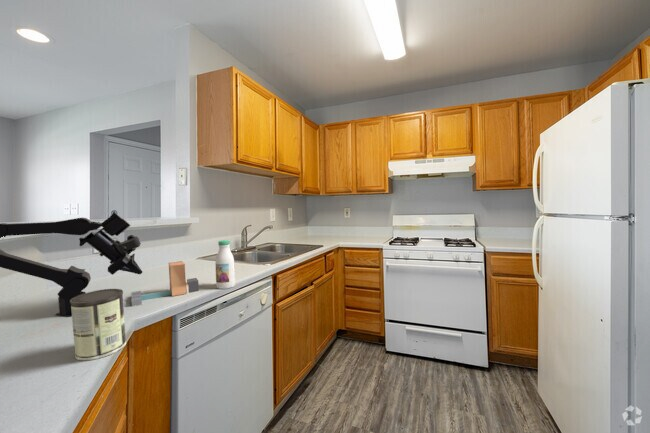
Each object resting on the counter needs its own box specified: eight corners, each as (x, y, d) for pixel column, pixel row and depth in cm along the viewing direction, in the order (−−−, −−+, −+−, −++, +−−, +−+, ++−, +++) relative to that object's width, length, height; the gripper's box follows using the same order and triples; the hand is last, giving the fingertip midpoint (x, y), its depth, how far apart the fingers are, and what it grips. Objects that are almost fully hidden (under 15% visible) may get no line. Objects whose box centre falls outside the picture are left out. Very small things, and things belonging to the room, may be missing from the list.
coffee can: (96, 340, 75) (92, 289, 75) (135, 338, 76) (132, 287, 75) (62, 362, 65) (57, 303, 64) (107, 360, 65) (103, 301, 65)
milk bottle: (227, 283, 126) (225, 239, 125) (239, 285, 122) (237, 240, 121) (212, 287, 119) (210, 241, 118) (224, 290, 115) (222, 242, 114)
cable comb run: (131, 306, 100) (131, 294, 99) (131, 297, 110) (131, 286, 109) (200, 293, 113) (200, 282, 112) (195, 285, 123) (194, 276, 122)
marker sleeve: (172, 296, 109) (170, 265, 108) (170, 291, 115) (168, 262, 114) (186, 293, 112) (184, 264, 111) (183, 289, 118) (182, 261, 117)
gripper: (120, 235, 93) (157, 266, 100) (129, 225, 110) (161, 251, 116) (90, 259, 91) (130, 288, 97) (104, 244, 107) (138, 270, 114)
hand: (141, 273), depth 106 cm, fingers closed
